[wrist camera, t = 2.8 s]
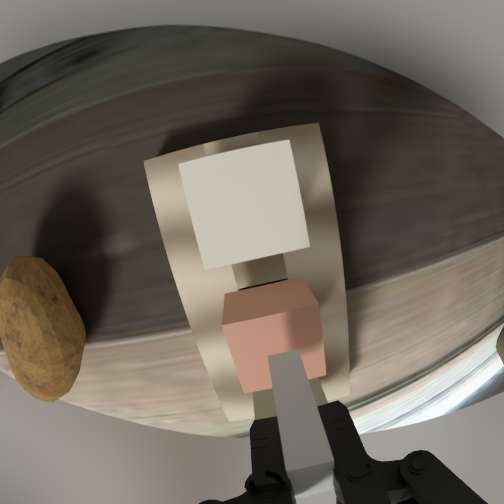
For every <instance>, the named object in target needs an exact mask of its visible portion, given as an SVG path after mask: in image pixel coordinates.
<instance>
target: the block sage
mask: <svg viewBox="0 0 504 504" xmlns="http://www.w3.org/2000/svg"><path fill="white" fill-rule="evenodd" d="M309 383H310V387H311V390H312V393H313V396H314V399H315V402H316V405H317V406H320V405H324V404H327V403H328V401H327V399H326V396H325V394H324V391H323V388H322V386H321V383H320V381H319V378H318V377H317V378H314V379H310V380H309ZM253 403H254V415H255V420H258V419H264V418H269V417H275V416H277V412H276V406H275V400H274V393H273V388H271V389H266V390H261V391H255V392H253Z"/></svg>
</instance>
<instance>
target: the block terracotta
mask: <svg viewBox="0 0 504 504" xmlns="http://www.w3.org/2000/svg"><path fill="white" fill-rule="evenodd" d="M222 328H223V331H224V334H225V337H226V340H227V344H228V347H229V350H230V353H231V356H232V359H233V362H234V365H235V368H236V371H237V374H238V377H239V380H240V383H241V386H242V389H243V392H244V393H250V392H255V391H261V390H266V389H271V388H273V387H272V381H271V375H270V368H269V362H268V356H269V355H274V354H278V353H283V352H287V351H291V350H296V349H298V350H299V353H300V356H301V359H302V362H303V365H304V368H305V371H306V374H307V377H308V380H310V379H314V378H317V377H321V376H325V375H326V365H325V354H324V344H323V334H322V325H321V317H320V309H319V303H318V301H317V300H316V298H315V297H314V295H313V293H312V292H311V290H310V289H309V287H308V285H307V284H306V282H305V281H304V279H303V278H302V277H298V278H293V279H289V280H285V281H280V282H276V283H272V284H267V285H263V286H258V287H254V288H249V289H244V290H240V291H235V292H230V293H226V294H225V295H224V306H223V317H222Z"/></svg>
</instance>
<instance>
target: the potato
mask: <svg viewBox="0 0 504 504" xmlns="http://www.w3.org/2000/svg"><path fill="white" fill-rule="evenodd" d="M0 336H1V340H2V343H3V347H4V349H5V352H6V355H7V358H8V361H9V364H10V367H11V370H12V372H13V374H14V376H15V378H16V380H17V381H18V382H19V384H20V385H21V386H22V387H23V388H24V390H26V391H27V392H28V393H29V394H31V395H32V396H33V397H35V398H37V399H40V400H43V401H47V402H54V401H55V400H57V399H59V398H60V397H62V396H63V395H65V394H66V393H68V392H69V391H70V389H71V387H72V385H73V384H74V382H75V380H76V378H77V376H78V373H79V371H80V366H81V360H82V355H83V350H84V345H85V336H86V331H85V327H84V324H83V321H82V318H81V316H80V314H79V313H78V311H77V309H76V307H75V306H74V304H73V302H72V300H71V298H70V296H69V294H68V292H67V290H66V287H65V285H64V283H63V282H62V280H61V278H60V276H59V275H58V273H57V272H56V271H55V270H54V269H53V268H52V267H51V266H50V265H49V264H48V263H47V262H45V261H44V260H43V259H42V258H38V257H31V256H15V257H14V259H13V260H12V261H11V262H10V264H9V265H8V266H7V268H6V269H5V271H4V272H3V274H2V276H1V277H0Z"/></svg>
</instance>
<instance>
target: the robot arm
mask: <svg viewBox="0 0 504 504" xmlns="http://www.w3.org/2000/svg"><path fill="white" fill-rule="evenodd" d="M268 362H269V368H270V375H271V381H272V387H273V393H274V400H275V406H276V412H277V416H275V417H269V418H264V419H258V420H254V422H253V424H252V426H251V428H250V441H251V442H250V444H251V461H252V474H251V475H250V476H249V477H248V478H247V480H246V482H245V488H246V490H247V491H246V492H245V493H244V494H242V495H240V496H238V497H235V498H232V499H230V500H227V501H223V502H221V501H218V500H206V501H203V502H201V503H199V504H296V498H301V497H305V496H310V495H315V494H319V493H323V492H327V491H330V490H334V489H335V493H336V496H337V498H336V504H488V503H486V502H485V501H484V500H483V499H482V498H481V497H480V496H479V495H477V494H476V493H475V492H474V491H473V490H472V489H471V488H469V487H468V486H467V485H466V484H465V483H464V482H463V481H462V480H461V479H459V478H458V477H457V476H456V475H455V474H454V473H453V472H451V470H450V469H448V468H447V467H446V466H445V465H444V464H443V463H442V462H441V461H440V460H438V459H437V458H436V457H435V456H434V455H433V454H432V453H430V452H428V451H424V450H419V451H414V452H412V453H410V454H408V455H407V456H406V457H405V458H404V459H402V460H395V461H383V462H382V461H377V460H374V459H372V458H371V457H370V456H369V455H368V454H367V453H366V451H365V449H364V447H363V444H362V442H361V439H360V437H359V435H358V432H357V430H356V428H355V426H354V423H353V421H352V418H351V416H350V414H349V411H348V409H347V407H346V406H345V405H343V404H342V403H341V402H340V401H334V402H331V403H327V404H324V405H320V406H317V405H316V402H315V399H314V396H313V393H312V390H311V387H310V383H309V380H308V377H307V374H306V371H305V368H304V365H303V362H302V359H301V356H300V353H299V350H298V349H296V350H291V351H287V352H283V353H278V354H274V355H269V356H268Z"/></svg>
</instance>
